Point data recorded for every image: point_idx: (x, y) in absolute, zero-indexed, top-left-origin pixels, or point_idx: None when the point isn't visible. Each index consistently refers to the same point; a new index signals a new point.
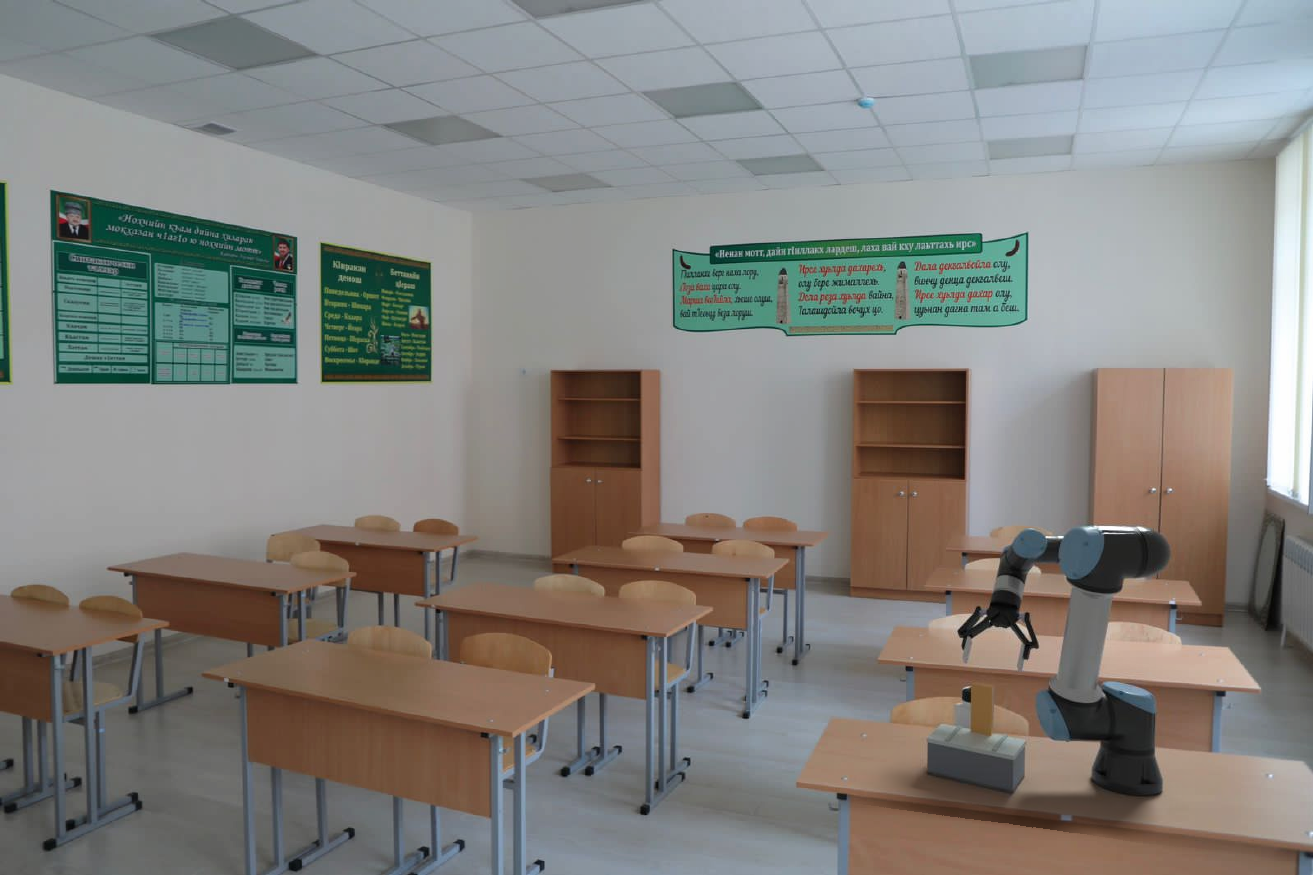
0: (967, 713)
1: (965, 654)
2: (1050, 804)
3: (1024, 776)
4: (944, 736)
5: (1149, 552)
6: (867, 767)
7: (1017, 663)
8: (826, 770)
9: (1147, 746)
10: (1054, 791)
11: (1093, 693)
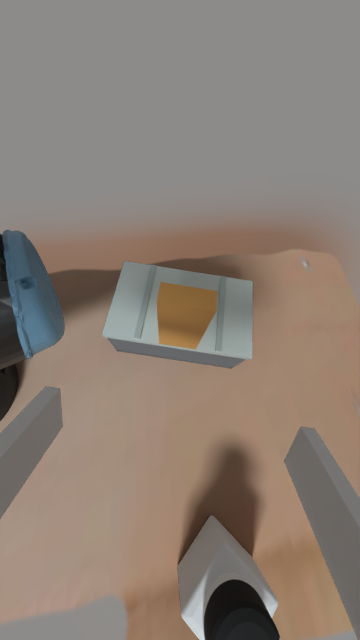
0: (233, 549)
1: (313, 444)
2: (91, 280)
3: (117, 350)
4: (230, 297)
5: None
6: (300, 299)
7: (51, 397)
8: (331, 275)
9: None
10: (82, 318)
11: None
